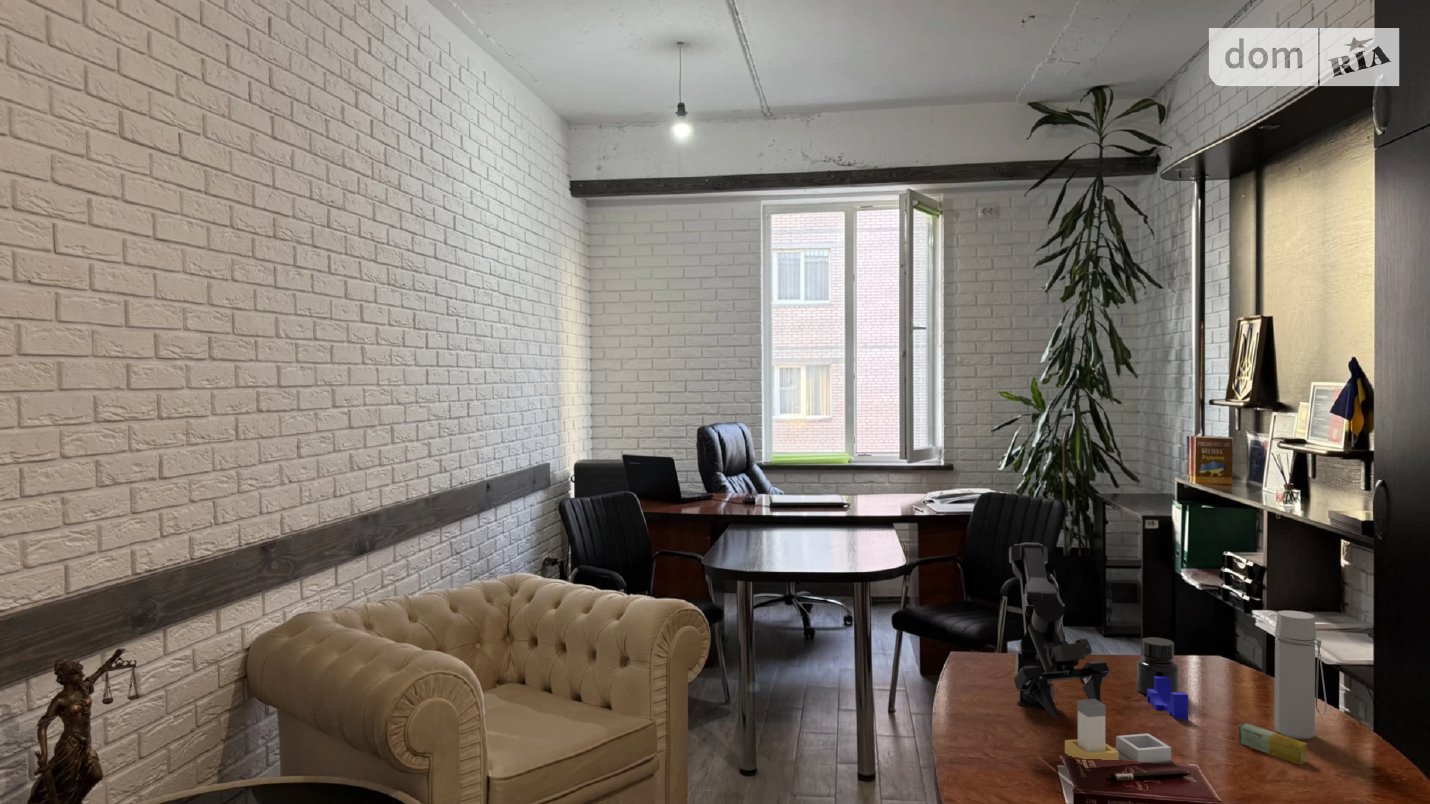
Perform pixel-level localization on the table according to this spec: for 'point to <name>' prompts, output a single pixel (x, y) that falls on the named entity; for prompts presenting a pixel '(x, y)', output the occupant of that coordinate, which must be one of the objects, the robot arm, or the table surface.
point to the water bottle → (1296, 674)
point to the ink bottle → (1157, 664)
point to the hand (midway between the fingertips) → (1078, 715)
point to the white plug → (1091, 725)
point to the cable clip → (1168, 698)
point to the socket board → (1126, 749)
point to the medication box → (1273, 743)
